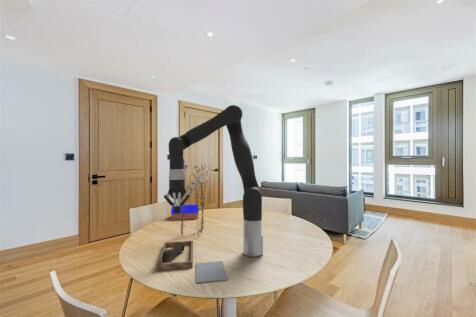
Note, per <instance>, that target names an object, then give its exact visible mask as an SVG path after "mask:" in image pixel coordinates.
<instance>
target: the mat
mask: <svg viewBox="0 0 476 317" xmlns="http://www.w3.org/2000/svg"><path fill="white" fill-rule="evenodd" d="M195 279H196V280H195V282H196V283H195V284H205V283H215V282H223V281H224V282H226V281H228V277H227V274H226V269H225V266H224V263H223V260H218V261H206V262H196V263H195Z"/></svg>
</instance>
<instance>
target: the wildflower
mask: <svg viewBox="0 0 476 317" xmlns="http://www.w3.org/2000/svg"><path fill="white" fill-rule="evenodd" d="M204 166H206V163H204ZM188 167H189V165H188V164H184V169H185V170H187V168H188ZM193 167H194V168H195V173H197V175H198V178H197V176H196V175H195V173H192V175H193V176H194V178H195V181H192V182H190V183H189V184H190V186H191V187H190V186H187V188H185V190H186V192H187V193H188V191H187V190H189V191H190V192H189V194H190V196H191V194H192V193H193V191H197V187H199V186H200V187H199V189H198V192H200V191H201V193H198V194H197V193H195V195H196V196H198V197H196V205H198V206H199V204H198V203H199V199H200V200H201V202H200V206H201V208H199V209H198V213H200V211H201V212H202V213H201V214H202V215H201V214H200V215H201V220H200V221H199V218H200V217H198V219H197V223H198V224H197V228H196V231H197V233H196V235H197V236H198V238H200V235H202V234H203V229H204V228H205V226H204V224H205V223H206V221H205V220H204V213H205V211H204V207H205V202H204V200H205V197H204V193H205V192H206V190H203V189H206V187H207V184H205V183H208V182H209V181H208V180H206V179H205V178H203V177H205V176H208V173H207V170H206V168H204V167H203V164H201V169H200V168H197V165H196V166H193ZM210 169H211V167H208V170H210ZM205 170H206V171H205ZM203 171H204V172H203ZM204 173H205V174H204ZM200 174H201V175H200ZM204 175H205V176H204ZM205 181H206V182H205ZM193 187H194V188H193ZM200 194H201V195H200ZM199 195H200V196H199ZM184 199H185V198H183V197H182V198H181V201H183V200H184ZM189 200H190V198H188V199H187V201H186V202H189ZM185 205H188V204H187V203H185ZM182 206H183V205H182ZM182 206H181V208H182ZM183 207H184V206H183ZM185 207H186V206H185ZM183 210H184V209H183ZM181 219H182V220H180V234H181V237H184V230H185V229H186V227H184V226H185V225H184V223H185V221H186V220H185V219H184V220H183V214H182V209H181ZM199 223H200V224H199Z"/></svg>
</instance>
